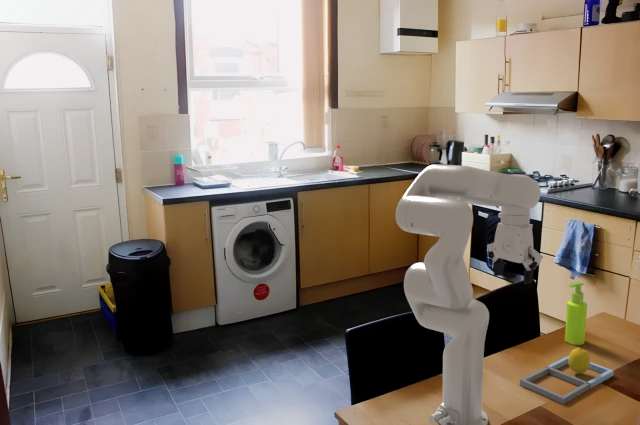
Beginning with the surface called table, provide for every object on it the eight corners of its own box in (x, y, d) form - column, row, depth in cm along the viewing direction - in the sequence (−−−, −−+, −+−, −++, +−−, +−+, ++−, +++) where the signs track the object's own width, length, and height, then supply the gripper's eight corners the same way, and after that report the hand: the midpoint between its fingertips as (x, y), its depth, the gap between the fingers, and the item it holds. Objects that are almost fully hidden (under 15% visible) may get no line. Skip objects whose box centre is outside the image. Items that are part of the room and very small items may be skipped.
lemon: (591, 379, 156) (592, 352, 155) (569, 377, 158) (571, 351, 156) (586, 370, 162) (587, 344, 160) (565, 368, 163) (567, 343, 161)
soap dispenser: (558, 340, 182) (561, 281, 179) (573, 336, 185) (577, 278, 181) (573, 346, 177) (577, 287, 173) (588, 342, 180) (592, 283, 176)
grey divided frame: (563, 404, 144) (563, 398, 144) (519, 384, 154) (520, 379, 154) (612, 375, 158) (613, 370, 158) (569, 359, 169) (570, 354, 168)
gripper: (480, 216, 158) (479, 274, 161) (535, 226, 144) (531, 289, 147) (497, 213, 162) (495, 269, 166) (551, 222, 148) (548, 283, 152)
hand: (512, 279), depth 157 cm, fingers open, 9 cm apart
